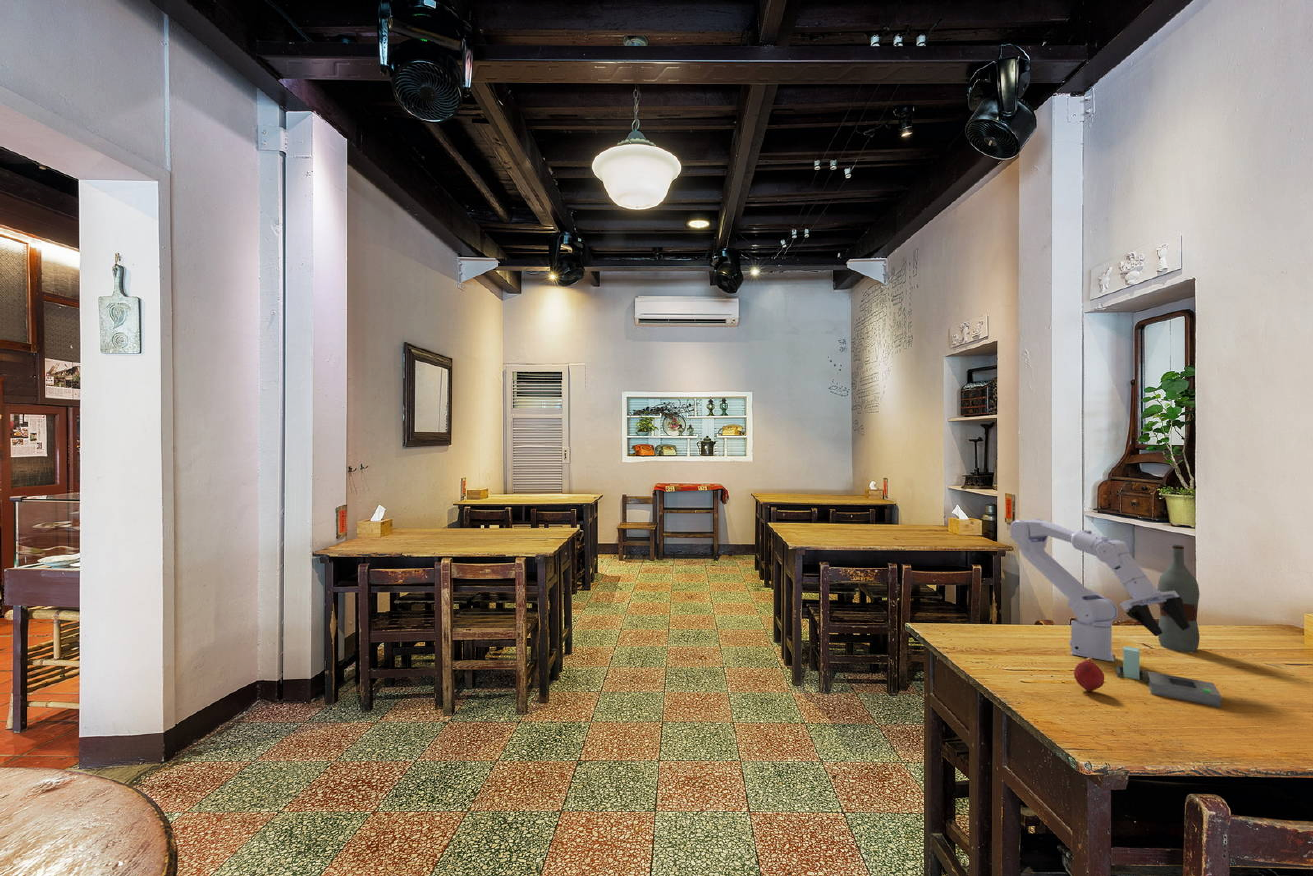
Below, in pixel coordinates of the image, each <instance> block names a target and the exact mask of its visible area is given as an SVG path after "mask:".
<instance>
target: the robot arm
mask: <svg viewBox="0 0 1313 876" xmlns="http://www.w3.org/2000/svg"><path fill="white" fill-rule="evenodd" d="M1009 526H1010V527H1009V535H1010V538H1011V539H1012V540H1013V541H1014V542H1016V544H1017V545H1018V548H1019V550H1020V552H1021V554H1022V556H1023V557H1024V558H1025V559H1026V560H1027V561H1028V562H1029V563H1031V565H1032V566H1033V567H1034V568H1036V570H1038V571H1039V573H1040V574H1042V575H1043V576H1044V577H1045V578H1046V579H1047V580H1048V581H1050V583H1052V585H1054V586H1055V587H1056V588H1057V589H1058V590H1059V591H1060V592H1061V593H1062V594H1063V595H1064V596H1065V597H1066V598H1067V599H1068V601H1067V606H1068V607H1069V608H1070V609H1071V610H1072V612H1073V614H1074V616H1075V618H1076V620H1075V619H1074V620H1073V619H1072V620H1070V621H1071V622H1070V623H1071V624H1070V628H1071V629H1070V634H1071V635H1070V637H1071V638H1070V639H1069V647H1071V648H1070V649H1071V650H1070V654H1071V655H1073V656H1080V657H1085V658H1092V659H1096V660H1101V661H1108V662H1115V658H1114V653H1113V652H1112V649H1113V648H1112V638H1113V637H1112V633H1113V631H1112V630H1113V629H1112V627H1113V626H1112V625H1113V624H1114V623H1113V621H1114V620H1116V619H1117V617H1118V614H1119V611H1118V610H1119V609H1118V607H1117V605H1116V604H1115V602H1114V601H1112V600H1111V599H1109V598H1106V597H1104V596H1103V595H1102V594H1100V593H1098V592H1096V591H1094V590H1091V589H1088V588H1087V587H1085V586H1084V585H1083V584H1082V583H1081V582H1079V580H1078V579H1076V578H1075V577H1074V576H1073V575H1072V573H1070V572H1069V571H1068V570H1066V569H1065V568H1064V567H1063V566H1062V565H1061V564H1060V563H1058V562H1057V560H1056V559H1054V558H1053V557H1052V556H1051V555H1050V554H1049V553H1048V552H1046V550H1045V549H1046V547H1047V543H1048V538H1049V537H1050V538H1055V539H1058V540H1061V541H1064V542H1067V543H1070V544H1071V545H1072V547H1073V548H1074V549H1076V550H1078V551H1081V552H1084V553H1086V554H1090V555H1091V556H1095V557H1096V558H1097V559H1098V561H1100V562H1102V563H1105V564H1106V565H1107V567H1108V568H1110V569H1111V571H1112V572H1113V573H1114V575H1115V576H1116V577H1117V579H1118V580H1119V581H1120V583H1121V585H1122V586H1123V587H1124V588H1125V590H1126V591H1127V592H1128V594H1129V595H1130V597H1131V598H1132V599H1127V600H1124V601H1122V602H1121V603H1119V605H1120V606H1121V608H1122V610H1123V611H1124V612H1126V614H1127V616H1128V617H1129V618H1132V619H1133V620H1135V621H1137V622H1138V623H1139V624H1141V625H1142V626H1143V627H1144V628H1145V629H1147V631H1149V632H1150V633H1151V634H1152V635H1153V636H1154V637H1158V635H1160V634H1162V633H1163V632H1162V630H1161V629H1160V627H1159V626H1158V624H1159V623H1157V621H1156V619H1155V618H1154V617H1153V615H1152V613H1151V610H1150V608H1149V606H1152V605H1157V604H1159V603H1162V602H1164V605H1163V606H1161V607H1160V606H1159V609H1160V608H1161V609H1162V610H1164V611H1165V612H1166V613H1167V614H1168V615H1169V616H1170V617H1171V618H1172V619H1173V620H1174V621H1175V623H1176V624H1177V625H1178V626H1179V627H1180V628H1181V629H1182V630H1186V629H1188V628H1190V625H1189V623H1188V621H1187V618H1186V616H1185V613H1184V609H1183V600H1182V599H1181V597H1179V595H1178V594H1177V593H1176V591H1170V592H1161V591H1158V588H1157V587H1155V585H1154V584H1153V583H1152V581H1151V580H1150V579H1149V577H1148V576H1147V575H1146V573H1145V572H1144V570H1142V568H1141V567H1140V566H1139V564H1138V563H1137V562H1136V560H1135V559H1134V557H1133V556H1132V548H1131V547H1130V545H1129V544H1128V543H1127V542H1126V541H1123V540H1122V539H1114V540H1112V539H1110V538H1109V536H1106V535H1103V536H1101V535H1099V534H1095V533H1092V530H1090V529H1081V530H1078V531H1076V532H1075V531H1073V530H1071V529H1068V528H1066V527H1063V526H1060V525H1058V524H1055V523H1053V522H1051V521H1049V520H1044V519H1040V518H1036V519H1015V520H1013V521H1012V522H1011V523H1010V525H1009Z"/></svg>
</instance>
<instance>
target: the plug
mask: <svg viewBox="0 0 1313 876" xmlns="http://www.w3.org/2000/svg"><path fill="white" fill-rule="evenodd" d="M1122 651H1123V652H1122V653H1123V654H1122V655H1123V657H1122V659H1123V661H1122V664H1123V666H1122V667H1123V672H1122V673H1123V677H1124V678H1129V679H1135V680H1140V675H1139V670H1140V649H1139V648H1138V647H1133V646H1132V647H1131V646H1124V645H1123V649H1122Z"/></svg>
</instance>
